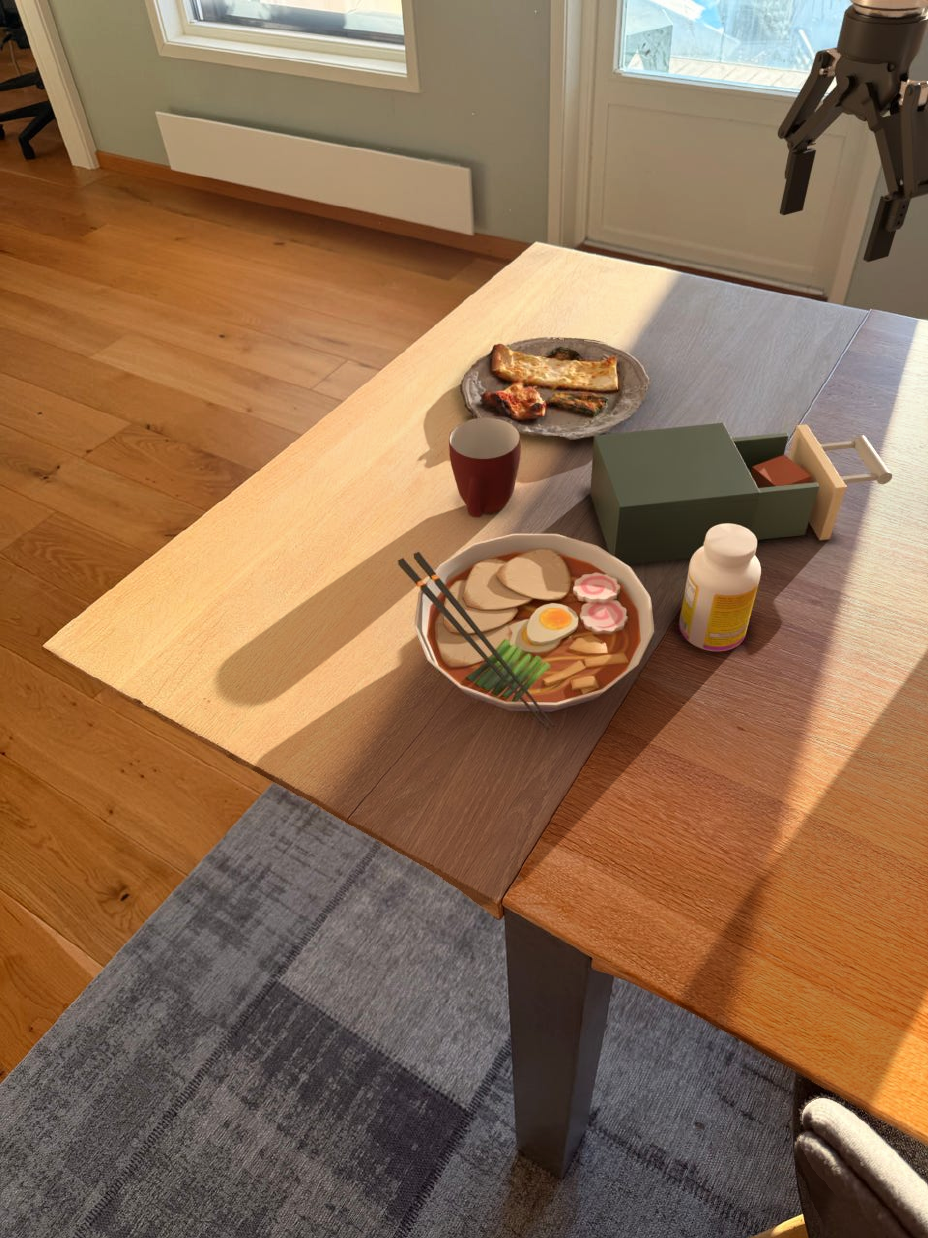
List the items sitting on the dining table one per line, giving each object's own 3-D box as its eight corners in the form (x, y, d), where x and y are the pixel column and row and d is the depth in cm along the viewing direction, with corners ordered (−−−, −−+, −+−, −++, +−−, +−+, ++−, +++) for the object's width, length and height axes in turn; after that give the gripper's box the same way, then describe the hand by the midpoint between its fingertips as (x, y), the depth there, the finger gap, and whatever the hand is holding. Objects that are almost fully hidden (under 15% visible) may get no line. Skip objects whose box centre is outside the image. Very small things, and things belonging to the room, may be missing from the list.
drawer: (843, 470, 109) (860, 418, 103) (885, 533, 101) (905, 480, 95) (680, 487, 108) (689, 435, 102) (709, 552, 100) (720, 500, 94)
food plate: (438, 431, 120) (437, 408, 117) (490, 342, 135) (490, 320, 132) (626, 460, 113) (629, 437, 111) (659, 364, 128) (661, 341, 126)
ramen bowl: (702, 697, 87) (715, 640, 81) (499, 804, 80) (498, 750, 74) (557, 550, 103) (560, 493, 97) (376, 629, 95) (367, 572, 90)
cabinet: (710, 487, 109) (723, 422, 102) (744, 558, 100) (760, 492, 94) (589, 499, 108) (594, 435, 102) (612, 572, 100) (619, 507, 93)
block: (802, 507, 103) (811, 475, 99) (770, 520, 101) (778, 488, 98) (776, 485, 105) (784, 454, 102) (744, 498, 104) (752, 466, 101)
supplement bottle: (757, 632, 93) (783, 538, 83) (719, 668, 90) (742, 574, 80) (702, 601, 96) (722, 506, 87) (664, 634, 93) (680, 540, 84)
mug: (517, 544, 104) (516, 474, 96) (447, 542, 104) (441, 472, 97) (522, 486, 111) (522, 417, 103) (457, 485, 112) (452, 416, 104)
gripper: (769, -15, 91) (733, 201, 106) (961, 44, 75) (886, 288, 90) (829, -26, 93) (785, 187, 108) (1029, 29, 77) (944, 270, 92)
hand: (831, 234), depth 99 cm, fingers open, 13 cm apart
